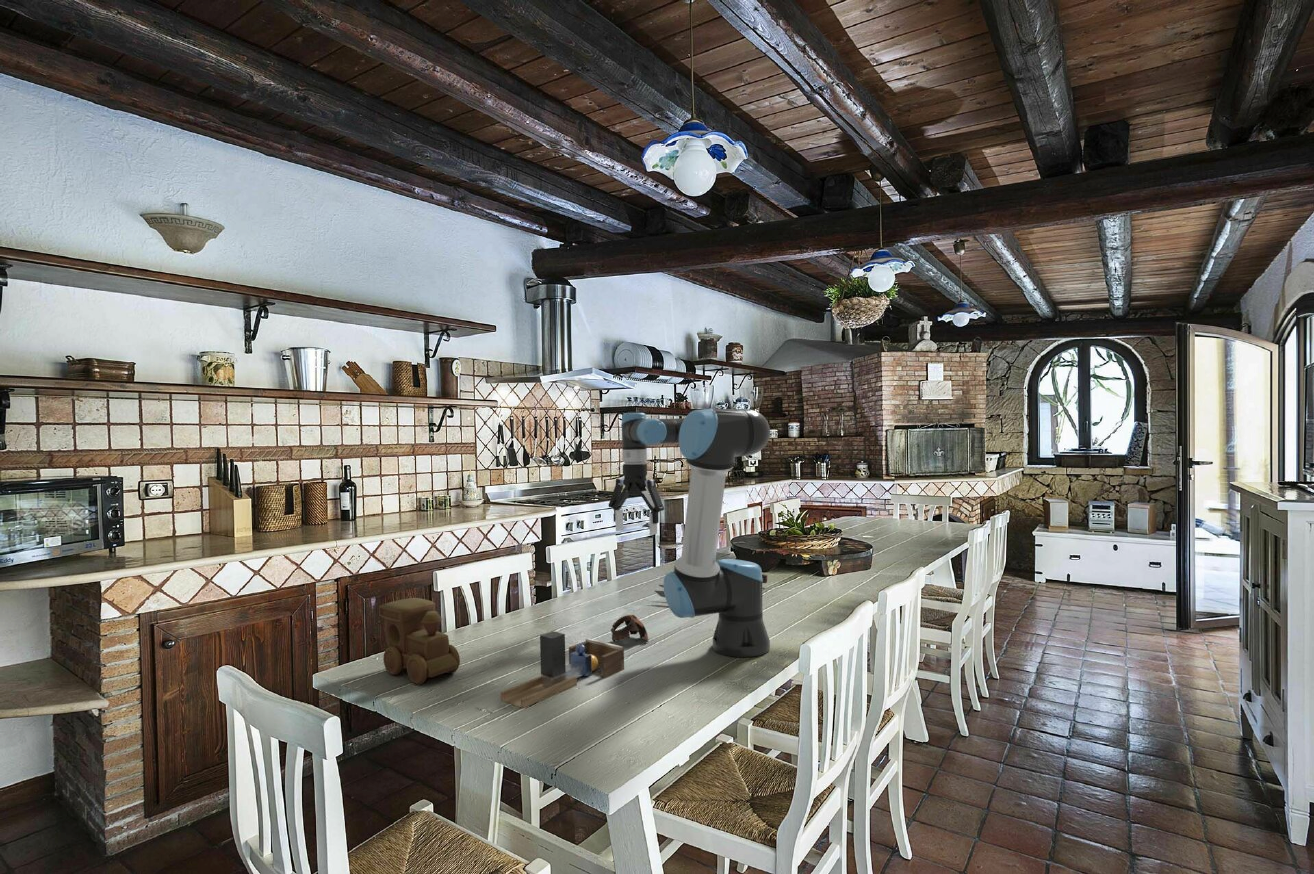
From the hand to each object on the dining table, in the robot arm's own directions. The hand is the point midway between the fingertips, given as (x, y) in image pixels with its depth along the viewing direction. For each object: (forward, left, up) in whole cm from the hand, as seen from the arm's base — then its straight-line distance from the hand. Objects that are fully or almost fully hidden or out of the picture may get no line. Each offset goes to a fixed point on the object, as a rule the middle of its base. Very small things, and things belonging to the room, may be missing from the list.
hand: (636, 532), depth 211 cm
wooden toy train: (+14, +66, -27) cm, 73 cm away
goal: (-19, +39, -27) cm, 51 cm away
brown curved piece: (-12, +17, -27) cm, 34 cm away
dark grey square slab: (-19, +49, -27) cm, 59 cm away
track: (-19, +57, -27) cm, 66 cm away
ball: (-19, +41, -25) cm, 51 cm away
